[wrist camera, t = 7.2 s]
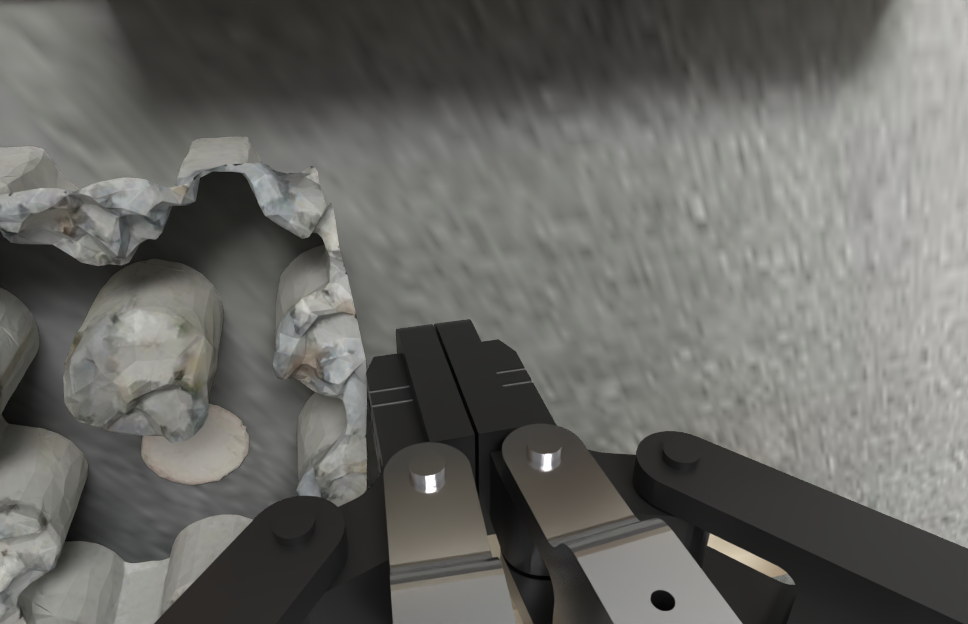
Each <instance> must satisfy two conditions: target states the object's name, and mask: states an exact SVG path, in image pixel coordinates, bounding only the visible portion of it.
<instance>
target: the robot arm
mask: <svg viewBox="0 0 968 624" xmlns="http://www.w3.org/2000/svg"><path fill="white" fill-rule="evenodd" d="M396 343H397V354H392V355H385V356H378V357H374V358H373V360H372V362H371V364H370V366H369V368H368V370H367V372H366V378H367V387H368V397H369V406H370V416H371V425H372V434H373V440H374V445H375V451H376V457H377V462H378V467H379V474H380V475H379V477H378V479H377V481H376V482H375V483H374V484H373V486H372V487H371V488H370V489H369V490H367V491H366V492H365V493H364V494H362V495H361V496H359V497H357V498H356V499H354V500H352V501H350V502H347V503H345V504H343V505H341V506H339V507H337V506H336V505H335V504H334V503H332V502H331V501H329V500H327V499H324V498H321V497H317V496H296V497H291V498H287V499H284V500H281V501H279V502H276V503H275V504H273V505H271V506H269V507H268V508H266V509H265V510H263V511H262V512H261V513H260V514H259V515H258V516H257V517H256V518H255V519H254V520H253V521H252V522H251V523H250V524H249V525H248V526H247V527H246V528H245V529H244V530H243V531H242V532H241V533H240V534H239V535H238V536H237V537H236V538H235V539H234V541H233V542H232V543H231V544H230V545H229V546H228V547H227V548H226V549H225V550H224V551H223V552H222V553H221V554H220V555H219V556H218V557H217V558H216V559H215V560H214V561H213V562H212V563H211V565H210V566H209V567H208V568H207V569H206V570H205V571H204V572H203V573H202V574H201V575H200V576H199V577H198V578H197V579H196V580H195V581H194V582H193V583H192V584H191V585H190V586H189V587H188V589H187V590H186V591H185V592H184V593H183V594H182V595H181V596H180V597H179V598H178V599H177V600H176V601H175V602H174V603H173V604H172V605H171V606H170V607H169V608H168V609H167V610H166V611H165V613H164V614H163V615H162V616H161V617H160V618H159V619H158V620H157V621H156V622H155V623H154V624H517V623H516V619H515V615H514V611H513V607H512V603H511V599H510V595H509V592H510V594H511V597H512V599H513V601H514V603H515V606H516V608H517V610H518V613H519V615H520V617H521V619H522V622H523V624H968V549H967V548H965V547H962V546H960V545H958V544H955V543H953V542H950V541H948V540H945V539H943V538H941V537H938V536H936V535H933V534H931V533H929V532H926V531H924V530H921V529H919V528H916V527H914V526H912V525H909V524H907V523H904V522H902V521H900V520H897V519H895V518H892V517H890V516H887V515H885V514H883V513H880V512H878V511H875V510H873V509H870V508H868V507H866V506H863V505H861V504H858V503H856V502H854V501H851V500H849V499H846V498H844V497H841V496H839V495H837V494H834V493H832V492H829V491H827V490H825V489H822V488H820V487H817V486H815V485H812V484H810V483H808V482H805V481H803V480H800V479H798V478H796V477H793V476H791V475H788V474H786V473H783V472H781V471H779V470H776V469H774V468H771V467H769V466H767V465H764V464H762V463H759V462H757V461H754V460H752V459H750V458H747V457H745V456H742V455H740V454H737V453H735V452H733V451H730V450H728V449H725V448H723V447H721V446H718V445H716V444H713V443H711V442H708V441H706V440H704V439H701V438H699V437H696V436H693V435H691V434H687V433H683V432H676V431H665V432H658V433H654V434H652V435H649V436H648V437H646V438H644V439H643V440H642V441H641V442H640V444H639V445H638V448H637V452H636V455H628V454H612V453H601V452H596V451H591V450H588V449H587V448H586V446H585V445H584V444H583V442H582V441H581V440H580V438H579V437H578V436H576V435H575V434H574V433H572V432H571V431H569V430H567V429H565V428H563V427H560V426H557V425H556V424H555V422H554V420H553V418H552V416H551V415H550V413H549V411H548V409H547V407H546V405H545V404H544V402H543V400H542V398H541V396H540V395H539V393H538V391H537V389H536V387H535V386H534V384H533V383H532V382H531V378H530V376H529V375H528V373H527V371H526V370H525V369H524V366H523V364H522V362H521V360H520V358H519V357H518V355H517V353H516V351H514V350H513V349H511V348H510V347H508V346H507V345H506V344H504V343H503V342H501V341H500V340H492V341H484V342H481V340H480V338H479V336H478V334H477V332H476V330H475V327H474V325H473V323H472V321H471V320H470V319H468V320H460V321H453V322H445V323H437V324H434V326H433V325H432V324H431V325H423V326H416V327H408V328H400V329H396ZM710 533H711V534H713V535H715V536H717V537H719V538H721V539H723V540H725V541H727V542H729V543H731V544H733V545H735V546H737V547H739V548H741V549H743V550H746V551H748V552H750V553H752V554H754V555H756V556H758V557H760V558H762V559H764V560H766V561H768V562H770V563H772V564H774V565H776V566H778V567H780V568H781V569H783V570H784V571H785V572H787V573H788V574H789V575H790V577H791V578H792V579H793V581H794V582H795V584H796V585H789V584H785V583H782V582H779V581H777V580H775V579H773V578H771V577H769V576H767V575H765V574H763V573H761V572H759V571H757V570H755V569H753V568H751V567H749V566H747V565H745V564H743V563H741V562H739V561H737V560H735V559H733V558H731V557H729V556H727V555H725V554H723V553H721V552H719V551H717V550H715V549H713V548H711V547H709V546H707V544H708V540H709V536H710ZM493 534H496V536H497V539H498V542H499V545H500V559H499V558H498V557H492V553H491V549H490V545H489V541H488V537H487V536H488V535H493ZM508 590H509V591H508Z"/></svg>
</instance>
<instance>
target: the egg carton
mask: <svg viewBox="0 0 968 624" xmlns="http://www.w3.org/2000/svg"><path fill="white" fill-rule="evenodd" d="M212 171H219V172H239V173H242V174H243V175H244V176H245V178H246V179H247V180H248V182H249V185H250V187H251V189H252V191H253V193H254V195H255V197H256V199H257V201H258V204H259V205H260V207H261V209H262V211H263V213H264V215H265V216H266V217H268V218H269V219H270V220H272V221H273V222H275V223H276V224H278V225H279V226H281V227H283V228H285V229H286V230H288V231H290V232H291V233H293V234H295V235H297V236H298V237H300V238H302V239H304V238H307V237H309V236H310V235H311V233H318V234H319V235H320V236H321V237H322V239H323V241H324V244H323V245H320V246H317V247H314V248H312V249H309V250H307V251H304V252H303V253H301V254H300V255H299V256H298V257H296V258H295V259H294V260H293V261H292V262H291V263H290V264H289V265H288V266H287V268H286V269H285V270H284V271H283V272H282V274H281V276H280V281H279V287H278V292H277V297H276V311H275V345H276V347H275V353H274V359H273V367H274V370H275V373H276V376H277V378H280V379H284V380H286V379H287V378H294V379H297V380H299V381H300V382H302V383H303V384H304V385H306V386H307V387H309V388H310V389H311V390H313V391H315V393H314V394H313V395H312V396H311V397H310V398H309V399H308V400H307V402H306V403H305V405H304V406H303V408H302V410H301V412H300V414H299V416H298V429H297V449H298V477H299V484H298V487H297V490H296V491H297V493H298V495H299V496H317V497H321V498H324V499H327V500H329V501H331V502H332V503H334V504H335V505H336V506H337V507H339V506H341V505H343V504H345V503H347V502H350V501H352V500H354V499H356V498H357V497H359V496H361V495H362V494H364V493H365V492H366V490H367V450H366V420H367V380H366V359H365V354H364V350H363V345H362V341H361V336H360V331H359V326H358V322H357V317H356V312H355V308H354V303H353V298H352V294H351V290H350V285H349V281H348V277H347V273H346V270H345V267H344V264H343V260H342V256H341V252H340V248H339V242H338V235H337V228H336V221H335V216H334V210H333V207H332V205H331V203H330V204H329V205H327V206H326V203H325V199H324V196H323V193H322V190H321V187H320V184H319V178H318V172H317V170H316V169H315V167H312V166H311V167H309V168H307V169H306V170H304V171H302V172H301V173H290V174H286V173H282V172H277V171H275V170H272V169H271V168H270V167H269V165H266V164H263V163H262V161H261V159H260V158H259V156H258V154H257V153H256V151H255V149H254V146H253V145H252V143H251V142H250V140H249V139H248V138H247V137H220V138H201V139H196V140H194V141H193V142H192V143H191V145H190V149H189V151H188V155H187V156H186V158H185V159H184V161H183V163H182V165H181V168H180V170H179V173H178V177H177V180H176V186H175V187H171V188H167V187H164V186H161V185H158V184H155V183H153V182H150V181H148V180H145V179H138V178H126V177H124V178H118V179H112V180H106V181H102V182H98V183H95V184H92V185H89V186H87V187H84V188H82V189H79V188H77V187H76V186H74V185H73V184H72V183H71V182H69V181H68V180H67V179H66V178H65V176H64V175H63V174H62V173H61V172H60V171H59V170H58V168H57V167H56V165H55V163H54V162H53V160H52V159H51V158H50V156H49V155H48V154H47V152H46V151H45V150H44V149H41V148H37V147H33V146H27V147H9V148H0V231H1V233H2V235H3V236H4V237H5V238H6V239H8V240H9V241H10V242H11V243H18V244H50V245H54V246H56V247H58V248H59V249H61V250H62V251H64V252H66V253H67V254H69V255H70V256H72V257H73V258H75V259H76V260H78V261H80V262H81V263H86V264H91V265H96V266H101V265H104V266H105V265H108V264H114V265H124V264H127V263H129V262H130V260H131V259H132V257H133V255H134V254H135V252H136V250H137V249H138V247H139V246H140V244H141V243H142V242H143V241H145V240H147V239H157V238H158V237H159V235H160V234H161V233H162V232H163V229H164V227H165V225H166V223H167V221H168V218H169V215H170V212H171V209H172V206H187V205H189V204H191V203H193V202H195V201H196V197H197V191H198V185H199V180H200V178H201V177H203V176H205V175H207V174H208V173H210V172H212ZM223 314H224V312H223V306H222V300H221V298H220V296H219V294H218V293H217V291H216V289H215V287H214V285H213V284H212V283H211V282H210V281H208V279H207V278H206V277H205V276H204V275H203V274H202V273H200V272H198V271H197V270H195V269H193V268H192V267H189V266H187V265H184V264H182V263H178V262H171V261H166V260H161V259H149V260H146V261H139V262H135V263H133V264H131V265H128V266H126V267H124V268H122V269H121V270H119V271H117V272H116V273H115V274H114V275H112V276H111V278H110V279H109V280H108V281H107V282H106V283H105V285H104V286H103V287H102V288H101V290H100V291H99V293H98V295H97V297H96V299H95V300H94V302H93V304H92V306H91V308H90V310H89V312H88V314H87V316H86V318H85V320H84V322H83V324H82V326H81V327H80V329H79V330H78V332H77V333H76V336H75V338H74V340H73V343H72V345H71V348H70V351H69V353H68V356H67V359H66V361H65V370H64V375H63V380H64V402H65V405H66V407H67V408H68V410H69V412H70V413H71V414H72V415H73V416H74V418H75V419H76V420H77V421H79V422H82V423H86V424H89V425H92V426H97V427H102V428H103V429H105V430H106V431H110V432H113V433H117V434H121V435H130V436H143V438H142V442H141V455H142V458H143V460H144V462H145V463H146V465H147V466H148V467H149V468H150V469H151V470H153V471H154V472H155V473H156V474H157V475H158V476H160V477H162V478H165V479H168V480H170V481H173V482H176V483H181V484H187V485H197V484H204V483H207V482H214V481H219V480H220V479H221V478H222V477H223V476H227V475H228V474H229V473H231V472H232V471H234V470H235V469H237V468H239V466H240V464H241V463H242V461H243V460H244V458H245V457H246V456H247V454H248V450H249V441H250V438H249V435H248V433H247V432H246V427H245V426H244V425H243V423H242V421H241V420H240V419H239V418H238V417H237V416H235V415H234V414H233V413H231V412H230V411H228V410H226V409H224V408H221V407H220V406H217V405H213V404H209V400H210V390H211V387H212V384H213V380H214V377H215V374H216V370H217V360H218V350H219V345H220V339H221V333H222V326H223ZM38 349H39V332H38V328H37V324H36V322H35V319H34V317H33V315H32V313H31V312H30V311H29V309H28V308H27V307H26V306H25V305H24V304H23V303H22V301H21V300H20V299H18V298H17V297H16V296H14V295H13V294H11V293H10V292H8V291H7V290H5V289H2V288H1V287H0V624H154V623H155V622H156V621H157V620H158V619H159V618H160V617H161V616H162V615H163V614H164V613H165V611H166V610H167V609H168V608H169V607H170V606H171V605H172V604H173V603H174V602H175V601H176V600H177V599H178V598H179V597H180V596H181V595H182V594H183V593H184V592H185V591H186V590H187V589H188V587H189V586H190V585H191V584H192V583H193V582H194V581H195V580H196V579H197V578H198V577H199V576H200V575H201V574H202V573H203V572H204V571H205V570H206V569H207V568H208V567H209V566H210V565H211V563H212V562H213V561H214V560H215V559H216V558H217V557H218V556H219V555H220V554H221V553H222V552H223V551H224V550H225V549H226V548H227V547H228V546H229V545H230V544H231V543H232V542H233V541H234V539H235V538H236V537H237V536H238V535H239V534H240V533H241V532H242V531H243V530H244V529H245V528H246V527H247V526H248V525H249V524H250V523H251V522H252V521H253V520H252V519H249V518H246V517H243V516H239V515H217V516H212V517H208V518H206V519H202V520H199V521H197V522H195V523H193V524H191V525H189V526H187V527H186V528H185V529H183V530H182V531H181V532H180V533H179V535H178V536H177V538H176V539H175V541H174V544H173V546H172V550H171V555H170V558H168V559H165V560H162V561H149V562H143V563H134V564H132V563H128V562H124V561H123V559H122V558H120V557H119V556H118V555H117V554H116V553H115V552H113V551H111V550H110V549H108V548H106V547H104V546H102V545H99V544H96V543H90V542H84V541H71V542H68V541H65V539H66V536H67V533H68V530H69V527H70V525H71V522H72V519H73V517H74V514H75V511H76V508H77V506H78V502H79V499H80V496H81V493H82V491H83V488H84V485H85V482H86V479H87V475H88V462H87V461H86V459H85V457H84V455H83V453H82V452H81V451H80V450H79V449H78V448H77V447H76V446H75V444H74V443H73V442H72V441H70V440H69V439H67V438H65V437H63V436H62V435H60V434H58V433H55V432H52V431H48V430H47V429H43V428H39V427H38V428H37V427H29V426H22V425H14V424H8V423H7V422H6V421H5V419H4V418H3V416H2V412H3V410H4V408H5V406H6V404H7V402H8V400H9V399H10V397H11V396H12V394H13V392H14V391H15V389H16V388H17V386H18V384H19V383H20V381H21V379H22V378H23V376H24V374H25V372H26V370H27V368H28V367H29V365H30V364H31V362H32V361H33V359H34V358H35V356H36V354H37V352H38Z"/></svg>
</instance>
